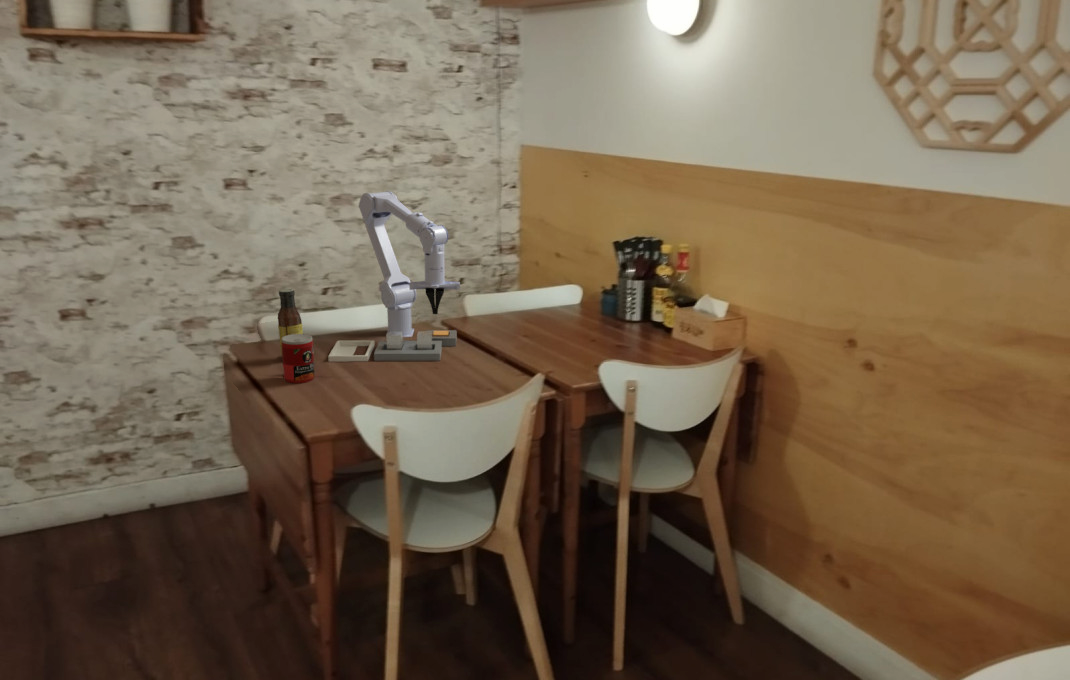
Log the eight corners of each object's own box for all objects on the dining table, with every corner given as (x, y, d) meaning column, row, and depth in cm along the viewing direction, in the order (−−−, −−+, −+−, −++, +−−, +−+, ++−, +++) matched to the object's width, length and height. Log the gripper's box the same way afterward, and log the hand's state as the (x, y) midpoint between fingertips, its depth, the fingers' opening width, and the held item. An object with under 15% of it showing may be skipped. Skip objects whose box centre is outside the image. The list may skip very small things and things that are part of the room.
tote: (337, 347, 243) (337, 340, 242) (374, 347, 244) (374, 340, 243) (328, 363, 228) (328, 356, 227) (367, 363, 229) (367, 356, 228)
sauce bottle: (308, 357, 233) (304, 287, 227) (300, 364, 227) (295, 292, 221) (285, 356, 233) (281, 287, 228) (276, 363, 227) (271, 291, 222)
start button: (433, 340, 250) (433, 330, 249) (448, 340, 250) (448, 330, 249) (433, 344, 246) (433, 334, 245) (448, 344, 246) (448, 334, 245)
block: (418, 351, 238) (418, 331, 236) (432, 351, 238) (432, 331, 236) (417, 355, 234) (417, 335, 232) (431, 355, 234) (431, 335, 233)
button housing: (426, 339, 252) (426, 330, 251) (456, 339, 253) (456, 330, 252) (424, 348, 243) (424, 338, 242) (455, 348, 244) (455, 338, 243)
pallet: (379, 349, 241) (379, 340, 241) (442, 349, 243) (441, 340, 242) (374, 362, 229) (373, 353, 228) (440, 362, 230) (439, 353, 230)
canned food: (297, 385, 210) (294, 343, 207) (277, 379, 214) (274, 338, 211) (321, 378, 215) (319, 337, 212) (301, 372, 220) (299, 332, 217)
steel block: (388, 351, 237) (388, 331, 235) (403, 351, 237) (402, 331, 236) (387, 356, 233) (386, 335, 232) (401, 356, 233) (401, 335, 232)
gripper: (408, 270, 236) (409, 316, 240) (459, 270, 237) (459, 316, 241) (409, 265, 243) (410, 310, 247) (459, 265, 244) (460, 310, 248)
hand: (435, 313), depth 244 cm, fingers closed
